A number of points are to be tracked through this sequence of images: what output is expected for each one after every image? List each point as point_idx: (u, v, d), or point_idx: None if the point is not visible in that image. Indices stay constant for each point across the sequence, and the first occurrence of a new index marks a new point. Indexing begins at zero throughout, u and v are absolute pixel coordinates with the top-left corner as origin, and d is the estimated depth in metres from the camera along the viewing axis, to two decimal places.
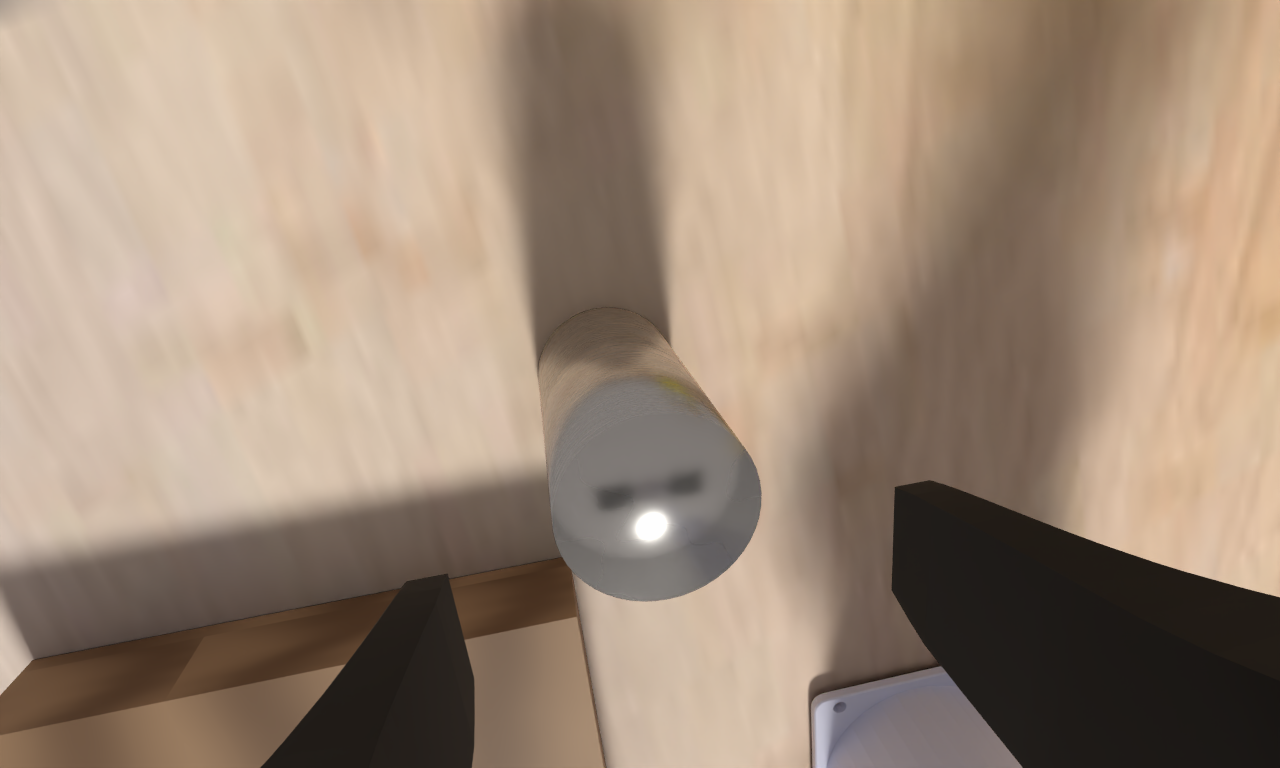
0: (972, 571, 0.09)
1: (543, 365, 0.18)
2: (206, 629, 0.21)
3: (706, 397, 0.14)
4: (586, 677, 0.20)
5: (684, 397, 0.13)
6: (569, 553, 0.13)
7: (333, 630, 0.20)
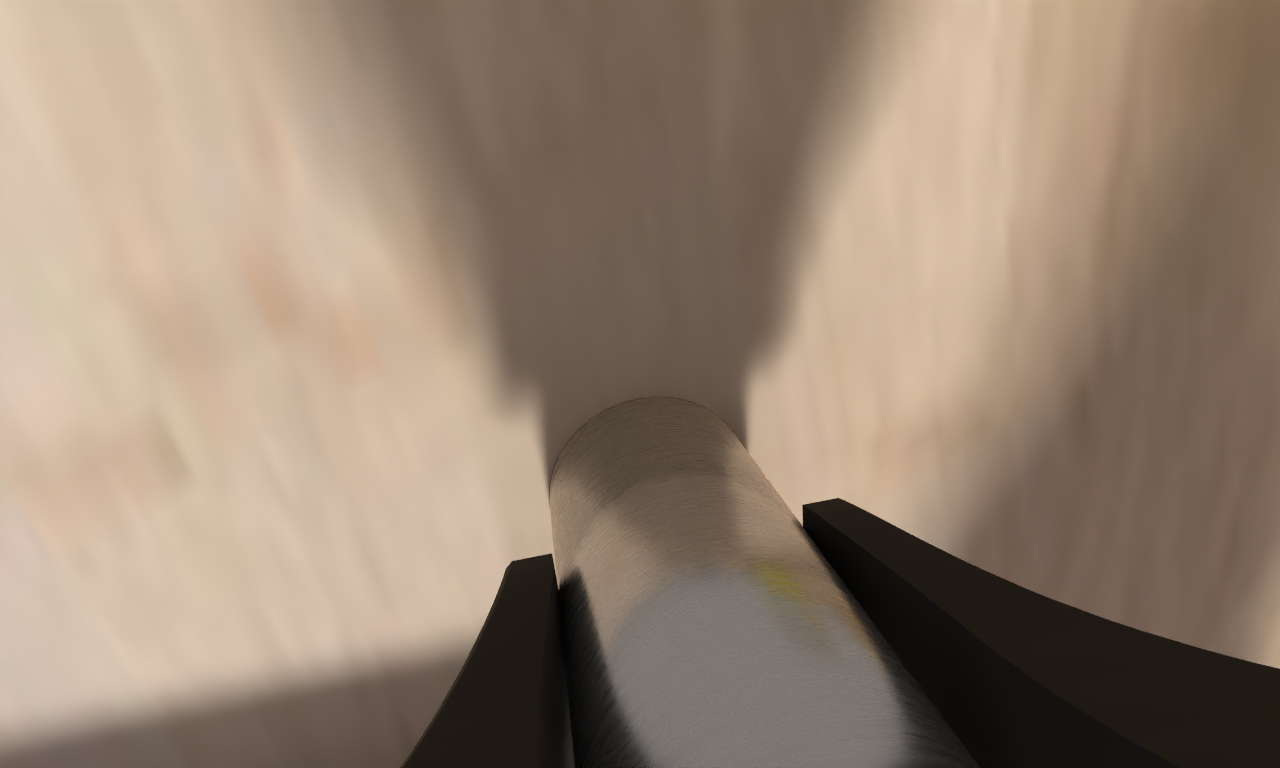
0: (864, 594, 0.09)
1: (558, 495, 0.12)
2: None
3: (869, 621, 0.08)
4: None
5: (859, 671, 0.06)
6: None
7: None
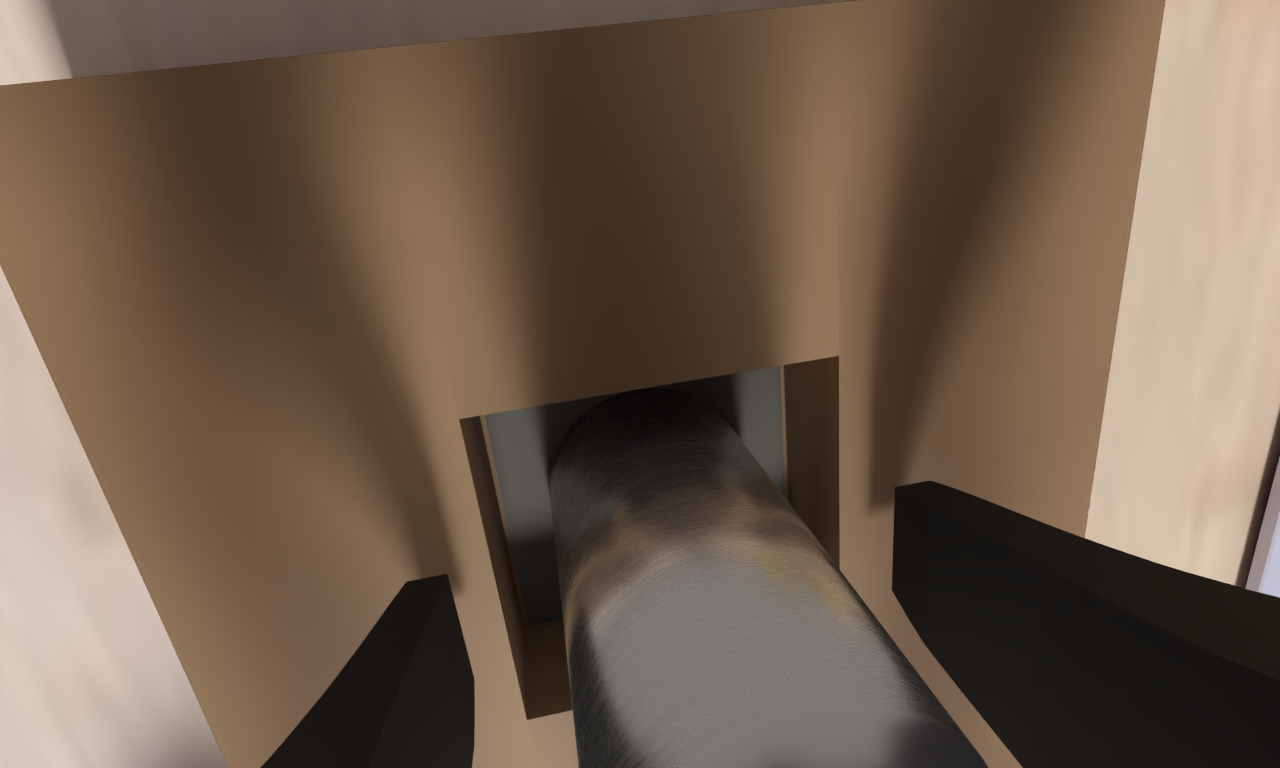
0: (973, 571, 0.09)
1: (558, 482, 0.12)
2: None
3: (857, 595, 0.08)
4: (1143, 134, 0.10)
5: (846, 636, 0.07)
6: None
7: None
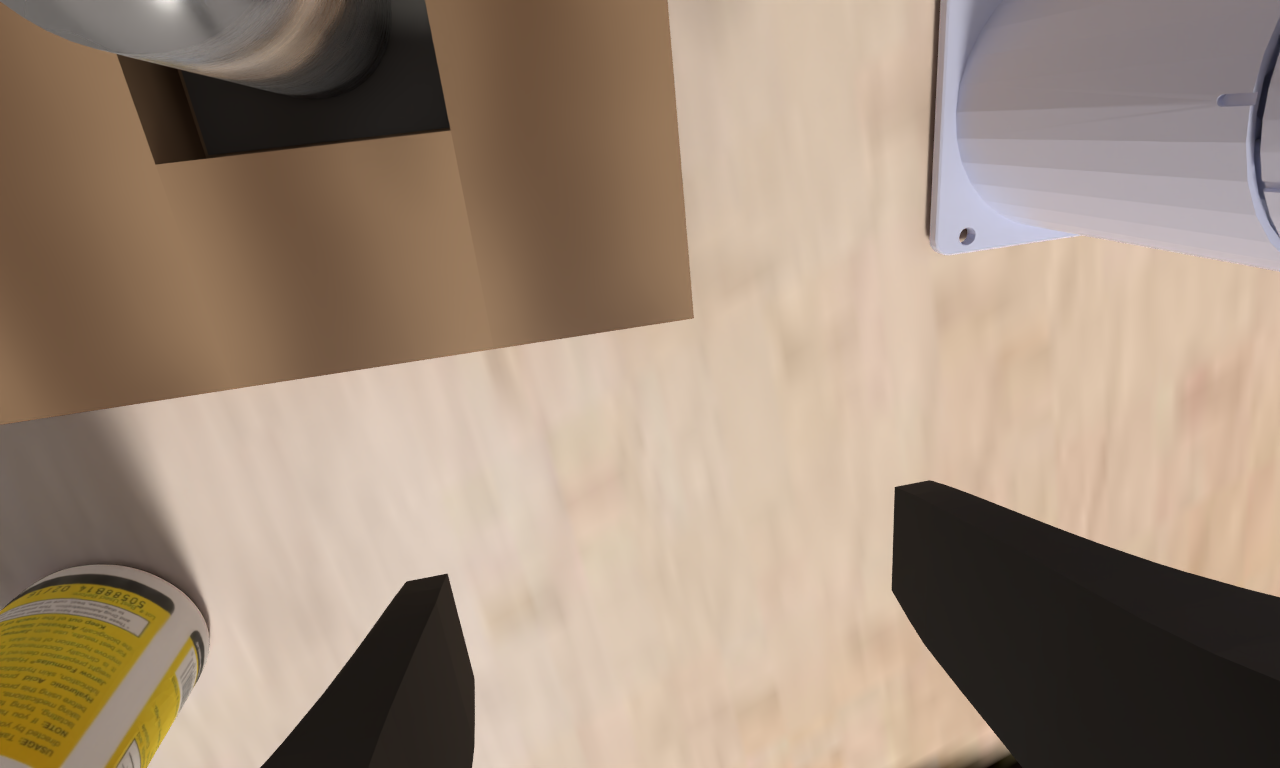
0: (973, 572, 0.09)
1: None
2: None
3: None
4: None
5: None
6: None
7: None
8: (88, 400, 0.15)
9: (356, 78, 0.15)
